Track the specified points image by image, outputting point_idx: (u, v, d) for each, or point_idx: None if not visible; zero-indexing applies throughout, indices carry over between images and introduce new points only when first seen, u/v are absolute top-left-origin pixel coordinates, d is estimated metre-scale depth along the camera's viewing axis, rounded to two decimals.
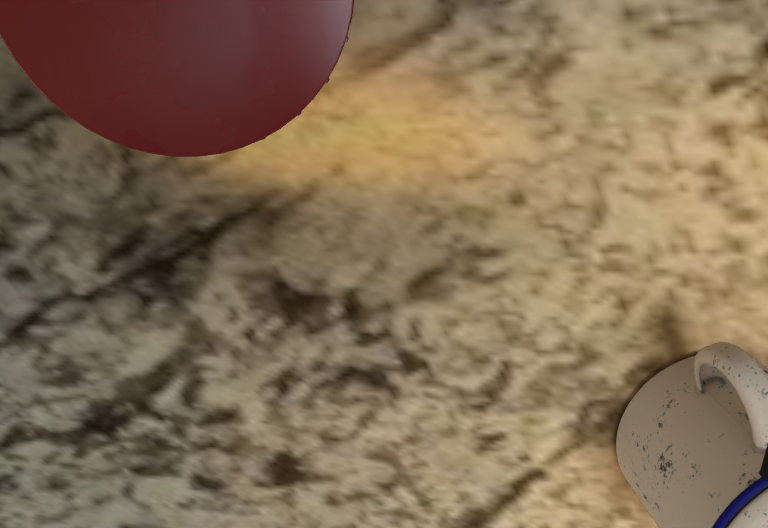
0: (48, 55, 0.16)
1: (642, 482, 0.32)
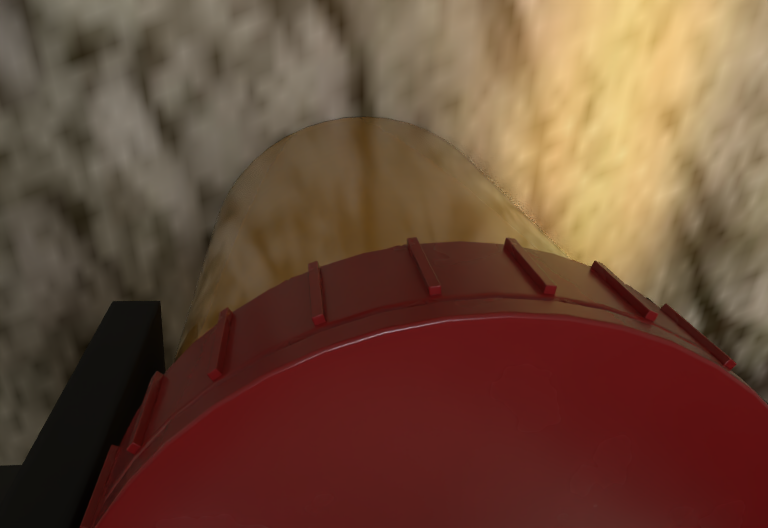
0: None
1: None
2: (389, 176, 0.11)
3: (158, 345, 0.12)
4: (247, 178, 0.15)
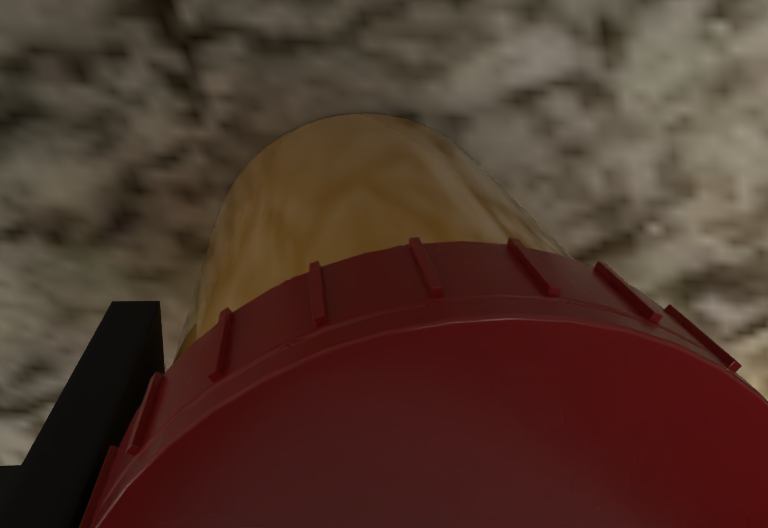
0: None
1: None
2: None
3: (158, 345, 0.12)
4: None
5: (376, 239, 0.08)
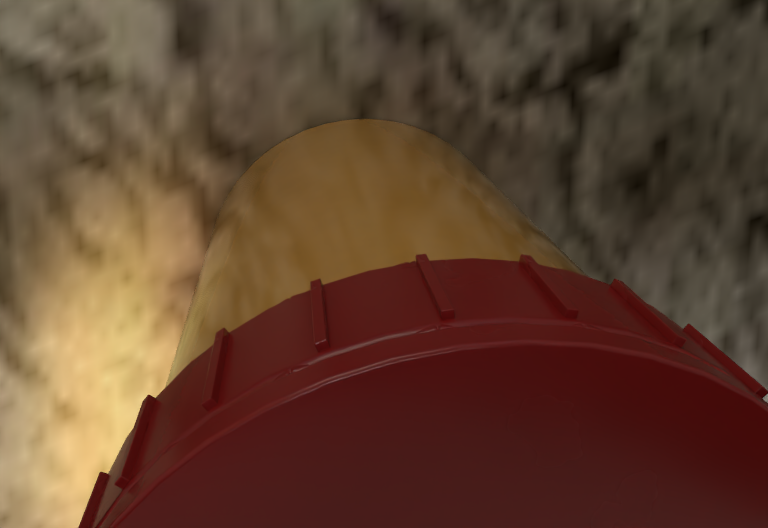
0: None
1: None
2: None
3: None
4: None
5: None
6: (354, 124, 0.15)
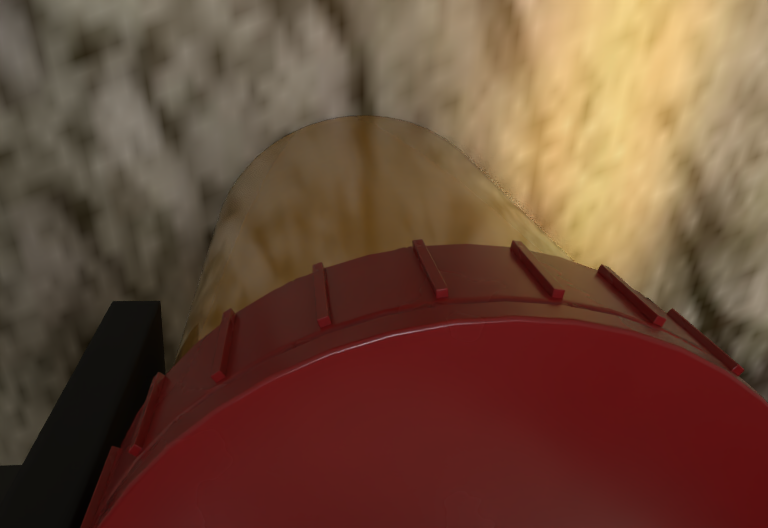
0: (330, 431, 0.06)
1: None
2: (389, 173, 0.11)
3: (158, 345, 0.12)
4: (248, 176, 0.15)
5: None
6: None
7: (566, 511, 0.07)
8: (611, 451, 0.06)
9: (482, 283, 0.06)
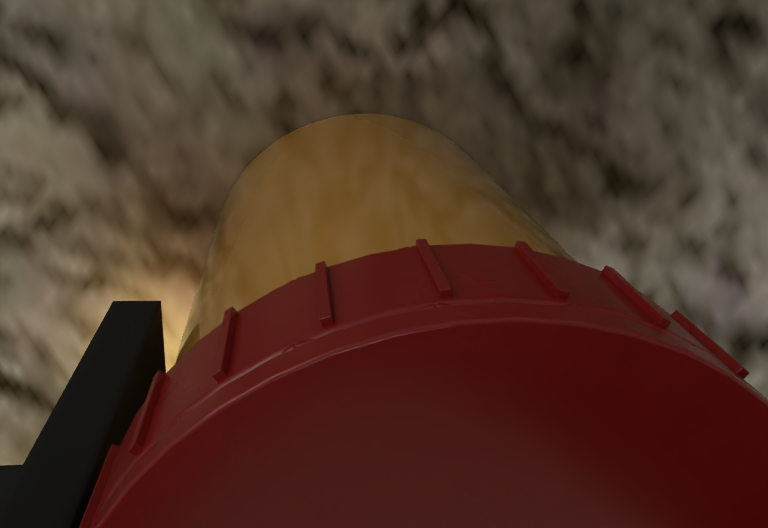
0: (331, 431, 0.06)
1: None
2: None
3: (159, 345, 0.12)
4: None
5: None
6: (279, 144, 0.16)
7: (569, 514, 0.07)
8: (615, 454, 0.06)
9: (486, 282, 0.06)
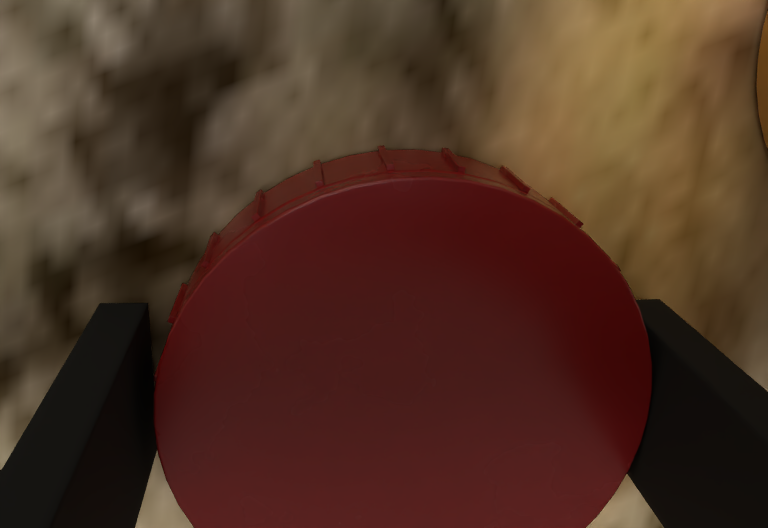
0: (322, 246, 0.10)
1: None
2: None
3: (146, 347, 0.12)
4: None
5: None
6: None
7: (469, 307, 0.11)
8: (494, 267, 0.10)
9: (416, 165, 0.10)
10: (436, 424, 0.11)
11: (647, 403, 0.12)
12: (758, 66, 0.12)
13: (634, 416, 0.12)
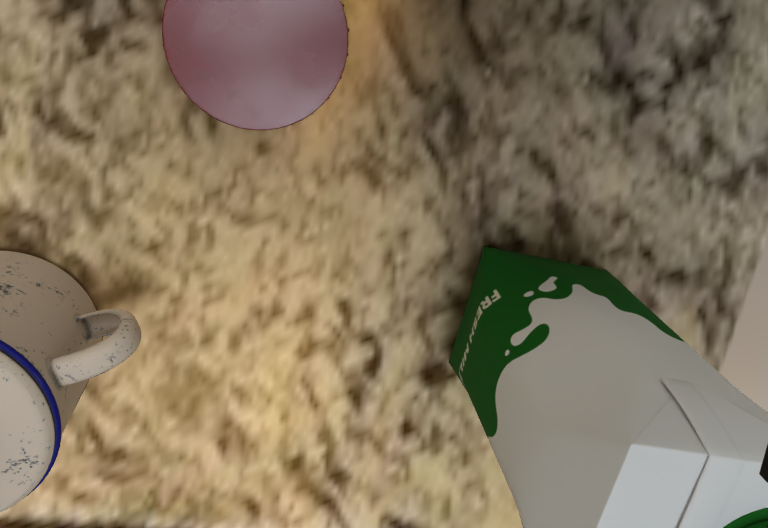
0: None
1: None
2: None
3: None
4: None
5: None
6: None
7: None
8: None
9: None
10: (266, 40, 0.31)
11: None
12: None
13: (342, 42, 0.31)
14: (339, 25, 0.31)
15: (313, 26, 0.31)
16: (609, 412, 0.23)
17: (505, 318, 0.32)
